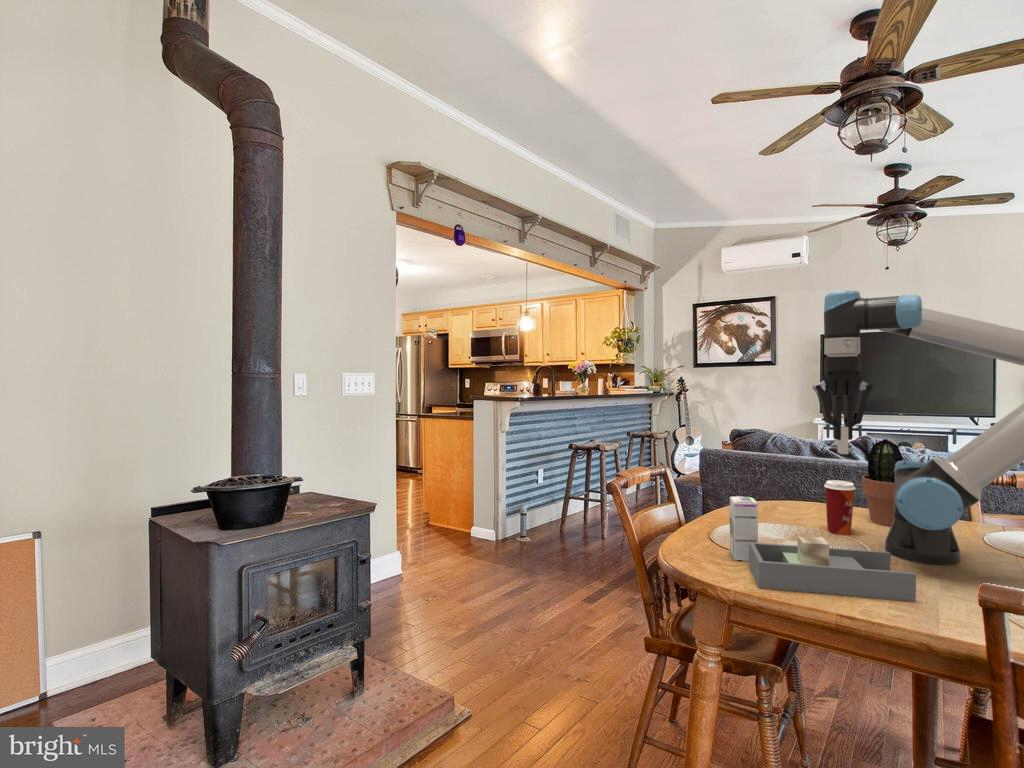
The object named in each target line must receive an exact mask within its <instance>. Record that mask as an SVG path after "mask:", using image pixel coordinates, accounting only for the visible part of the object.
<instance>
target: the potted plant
mask: <svg viewBox="0 0 1024 768" xmlns="http://www.w3.org/2000/svg"><path fill="white" fill-rule="evenodd" d="M898 461H904V458H903V456H902V453H901V451H900V448H899V445H897V444H896V443H893V441H890V440H889V439H887V438H885V439H883V440H879V441H877V442H874V443H873V444H872V447H871V448H870V451H869V454H868V455H867V473H868V474H863V475H862V476H861V478H862V479H861V481H862V493H863V494H864V495H865V498H866V504H867V508H868V514H869V517H870V518H869V519H870V521H871V522H872V523H874V524H876V525H880V526H887V527H891V525H892V523H893V520H894V485H895V474H894V470H895V464H896V463H897V462H898Z"/></svg>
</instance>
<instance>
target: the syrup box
mask: <svg viewBox="0 0 1024 768" xmlns="http://www.w3.org/2000/svg"><path fill="white" fill-rule="evenodd" d="M758 504H759V503H758V502H757V501H756V500H755V498H754V497H752V496H751V497H750V496H742V495H741V496H739V495H738V496H737V495H736V496H729V554H730V555H731V558H732V559H733V561H737V560H742V561H741V562H749V542H753V543H759V525H758V523H759V521H758V519H759V516H758V515H759V514H758V511H759V510H758V507H759V506H758Z"/></svg>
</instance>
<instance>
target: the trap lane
mask: <svg viewBox="0 0 1024 768" xmlns="http://www.w3.org/2000/svg"><path fill="white" fill-rule="evenodd" d="M891 556H892V554H891V553H890V552H887V551H882V550H868V549H867V550H866V549H856V548H855V549H852V548H840V547H839V548H837V547H829V566H822V565H809V564H801V562H800V561H799V560H798V558H797V557H798V544H797V545H795V544H793V545H792V544H780V543H778V544H777V543H769V542H768V543H766V542H758V543H753V542H749V561H748V567H749V566H750V567H749V568H750V571H751V573H753V574H752V576H753V578H754V580H755V582H756V585H757V587H758V589H765V590H766V589H767V590H769V589H770V590H777V591H778V590H780V591H791V592H800V591H802V593H811V592H815V593H814V594H825V595H834V594H835V596H836V594H838V596H847V597H858V598H867V599H870V598H871V599H879V600H880V599H881V600H882V599H884V600H891V601H892V600H893V601H903V602H904V601H905V602H914V601H915V602H917V600H916V599H917V573H916V572H912V571H900V570H899V571H898V570H897V571H896V570H891V562H892V561H891V559H892V558H891Z"/></svg>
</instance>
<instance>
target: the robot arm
mask: <svg viewBox="0 0 1024 768" xmlns="http://www.w3.org/2000/svg"><path fill="white" fill-rule="evenodd" d="M823 303H824V306H823V330H824V331H823V333H824V335H823V336H824V352H823V353H824V355H825V356H826V357H824V376H823V377H822V381H821V382H819V383H818V384H814V385H812V389H813V391H814V392H815V393H816V395H817V399H818V403H819V406H820V410H821V413H822V417H823V421H824V423H825V424H828V425H831V426H832V429H833V430H832V431H833V433H832V434H833V435H832V437H833V439H834V440H836V441H837V442H836V443H837V445H836V446H837V453H838V454H840V455H849V454H850V453H849V451H850V450H849V449H850V448H849V440H850V441H851V440H853V437H854V436H853V427H855V426H857V425H860V424H861V423H862V421H863V417H864V413H865V409H866V406H867V401H868V397H869V395H870V392H871V391H872V390H873V388H874V385H873V384H871V383H867V382H866V381H864V380H863V377H862V375H861V357H860V356H858V355H859V354H861V331H869V330H871V331H872V330H878V331H880V332H884V333H889V334H891V333H892V334H894V335H895V334H896V335H900V336H903V337H907V338H912V339H916V340H920V341H925V342H927V343H931V344H936V345H940V346H944V347H947V348H952V349H956V350H960V351H963V352H967V353H972V354H976V355H979V356H983V357H988V358H990V359H994V360H999V361H1001V362H1002V361H1004V362H1007V363H1011V364H1015V365H1018V366H1023V367H1024V330H1022V329H1017V328H1012V327H1009V326H1003V325H1000V324H995V323H992V322H991V323H990V322H987V321H983V320H977V319H973V318H968V317H964V316H959V315H955V314H952V313H947V312H942V311H937V310H933V309H930V308H929V309H928V308H924V307H923V301H922V297H921V296H920V295H919V294H918V295H917V294H913V295H912V294H911V295H910V294H909V295H905V294H901V295H894V296H893V295H892V296H891V295H890V296H880V297H870V298H868V297H866V298H863V297H861V293H860V291H858V290H853V289H851V290H850V289H849V290H837V291H832V292H831V291H830V292H829V293H828V294H826V295H825V296H824V302H823ZM826 388H827V389H828V391H829V392H830V393H831V399H832V400H831V401H832V405H831V406H832V407H830V403H829V401H828V396H827V393H826V392H825V391H826ZM857 389H859V392H858V396H857V399H856V403H855V406H854V397H855V392H856V391H857ZM842 398H843V422H842ZM831 410H832V411H831ZM842 423H843V425H842ZM1022 462H1024V402H1023V403H1022V404H1020V405H1019V406H1018V407H1016V408H1015V409H1014V410H1012V411H1011V412H1009V413H1008V414H1007V415H1004V417H1002V418H1000V419H999V420H998V421H997V422H996V423H994V424H993V425H991V426H990V427H988V428H987V429H986V430H985V431H983V432H982V433H980V434H979V435H978V436H976V437H974V438H973V439H972V440H971V441H969V442H968V443H966V444H965V445H964V446H963V447H961V448H960V449H958V450H956V451H955V452H954V453H953V454H951V455H950V456H949V457H947V458H939V457H938V458H935V457H934V458H933V459H931V460H930V461H929V462H928V461H927V462H926V461H925V462H924V461H912V460H911V461H909V460H903V461H898V462H897V463H896V464H895V470H894V474H895V485H894V520H893V523H892V525H891V526H890V528H889V529H888V530H889V531H888V532H887V534H886V537H885V542H884V550H885V552H890V553H891V555H893V556H895V557H899V558H901V559H905V560H909V561H914V562H917V563H918V562H919V563H925V564H933V565H934V564H935V565H952V564H956V563H959V562H960V561H961V549H960V547H959V544H958V542H957V538H956V536H955V533H954V530H953V526H954V525H955V524H956V523H957V522H958V521H959V520H960V519H961V517H963V514H964V512H965V511H966V510H968V509H969V508H971V507H972V506H974V505H975V504H977V503H978V502H979V501H981V500H982V490H983V489H984V488H986V487H987V486H988V485H990V484H992V483H993V482H994V481H996V480H997V479H999V478H1000V477H1002V476H1003V475H1004V474H1006V473H1008V472H1009V471H1010V470H1012V469H1014V468H1015V467H1017V466H1018V465H1019V464H1021V463H1022Z"/></svg>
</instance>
